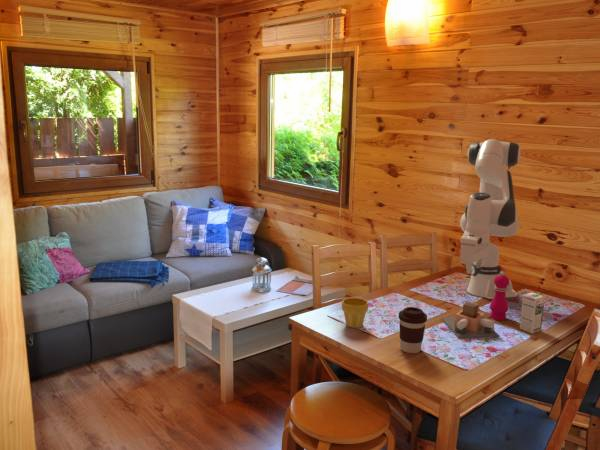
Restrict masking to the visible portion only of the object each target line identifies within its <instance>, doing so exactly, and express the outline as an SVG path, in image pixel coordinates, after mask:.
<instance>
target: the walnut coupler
mask: <svg viewBox="0 0 600 450" xmlns="http://www.w3.org/2000/svg"><path fill="white" fill-rule="evenodd" d="M462 309H463V312H462V315H464V316H468V317H471V318H476V317H477V316H478V312H479V303H476V302H471V301H467V302H465V303H463V304H462Z"/></svg>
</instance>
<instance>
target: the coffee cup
mask: <svg viewBox="0 0 600 450" xmlns="http://www.w3.org/2000/svg"><path fill="white" fill-rule="evenodd" d="M398 319H399V339H400V341H399V342H400V343H399V344H400V345H399V347H400V349H401V351H403V352H405V353H407V354H418V353H420V352H421V350H422V347H423V346H422V345H423V341H424V337H425V336H424V335H425V328H426V322H427V321H428V315H427V314H426V312H424V311H423V309H421V308H419V307H415V306H408V307H407V306H406V307H405V308H403V309H402V310H400V311H399V312H398Z"/></svg>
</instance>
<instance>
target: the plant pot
mask: <svg viewBox="0 0 600 450" xmlns="http://www.w3.org/2000/svg"><path fill="white" fill-rule="evenodd" d="M341 310H342V311H343V315H344V320H345V321H344V322H345V325H346V326H347V327H348V328H352V329H358V328H362V327H363V325H364V321H365V317H366V314H367V312H368V311H369V302H368V300H367V299H365V298H362V297H345V298H344V299H343V300H342V301H341Z"/></svg>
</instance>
